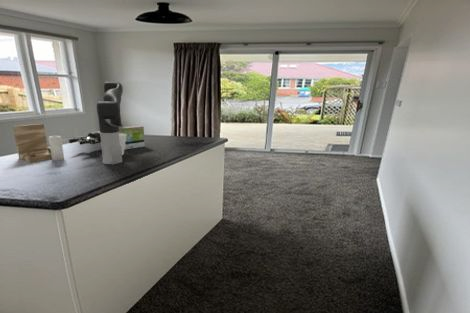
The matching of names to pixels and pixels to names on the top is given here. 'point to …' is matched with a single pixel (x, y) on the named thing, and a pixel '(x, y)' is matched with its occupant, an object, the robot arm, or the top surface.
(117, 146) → the robot arm
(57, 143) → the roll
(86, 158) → the top surface
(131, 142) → the tea box
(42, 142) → the holder
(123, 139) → the cup
